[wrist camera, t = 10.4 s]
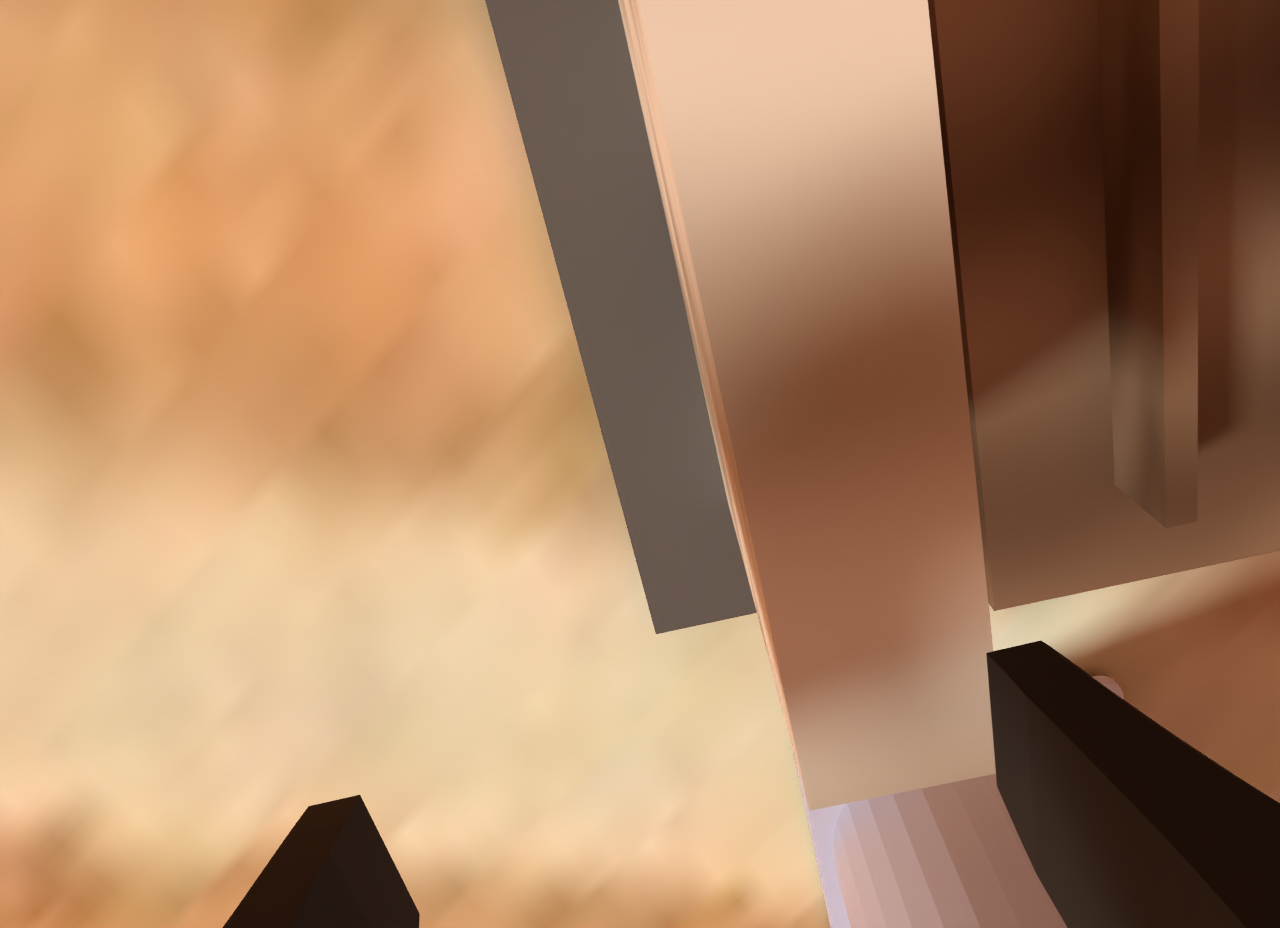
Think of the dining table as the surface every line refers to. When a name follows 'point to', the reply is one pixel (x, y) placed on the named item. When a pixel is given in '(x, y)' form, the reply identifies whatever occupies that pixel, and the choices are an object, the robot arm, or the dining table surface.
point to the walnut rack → (1115, 282)
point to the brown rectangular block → (831, 367)
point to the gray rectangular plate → (624, 298)
